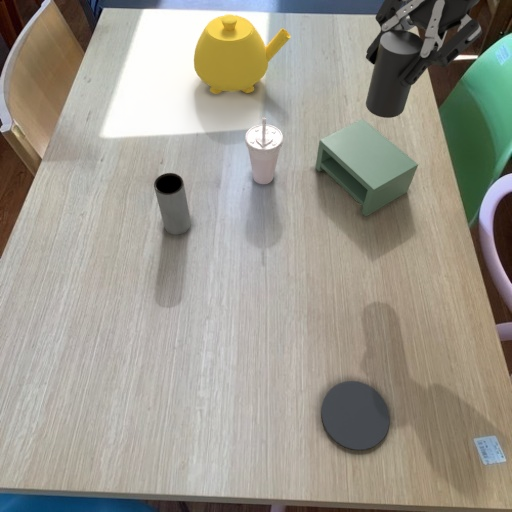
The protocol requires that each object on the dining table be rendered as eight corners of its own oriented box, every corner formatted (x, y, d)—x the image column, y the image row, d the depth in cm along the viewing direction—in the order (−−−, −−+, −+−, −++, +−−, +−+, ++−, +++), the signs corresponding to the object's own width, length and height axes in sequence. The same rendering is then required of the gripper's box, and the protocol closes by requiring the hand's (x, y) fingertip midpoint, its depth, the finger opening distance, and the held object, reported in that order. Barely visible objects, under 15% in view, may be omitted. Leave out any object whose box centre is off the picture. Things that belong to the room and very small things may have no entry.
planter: (173, 239, 80) (163, 199, 71) (159, 222, 82) (148, 180, 73) (196, 226, 81) (189, 185, 72) (182, 210, 83) (173, 168, 74)
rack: (407, 192, 86) (418, 164, 80) (365, 216, 82) (374, 189, 77) (355, 146, 92) (362, 118, 86) (315, 168, 89) (319, 139, 83)
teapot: (285, 56, 108) (288, -5, 97) (290, 101, 99) (295, 40, 88) (196, 58, 107) (190, -3, 96) (194, 103, 99) (187, 42, 87)
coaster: (401, 411, 64) (402, 410, 64) (364, 465, 60) (365, 465, 60) (346, 369, 67) (346, 368, 67) (307, 418, 63) (307, 417, 63)
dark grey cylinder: (411, 104, 70) (432, 40, 62) (391, 123, 68) (410, 59, 59) (378, 88, 72) (394, 24, 64) (358, 106, 70) (371, 43, 61)
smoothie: (243, 187, 86) (241, 127, 74) (248, 162, 89) (247, 101, 78) (278, 191, 85) (282, 131, 74) (282, 165, 89) (286, 104, 77)
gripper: (531, -7, 58) (432, 110, 64) (443, -52, 65) (360, 57, 71) (523, -42, 52) (414, 90, 58) (426, -88, 58) (338, 35, 65)
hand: (385, 72), depth 64 cm, fingers closed on dark grey cylinder, 5 cm apart
